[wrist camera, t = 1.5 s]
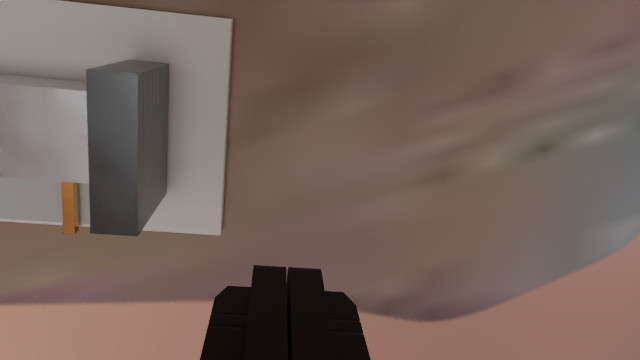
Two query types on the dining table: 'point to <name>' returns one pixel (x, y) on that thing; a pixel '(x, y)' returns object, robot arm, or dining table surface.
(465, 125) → the dining table surface
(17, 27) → the gauge base
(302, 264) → the dining table surface
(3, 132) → the tall dark grey box
